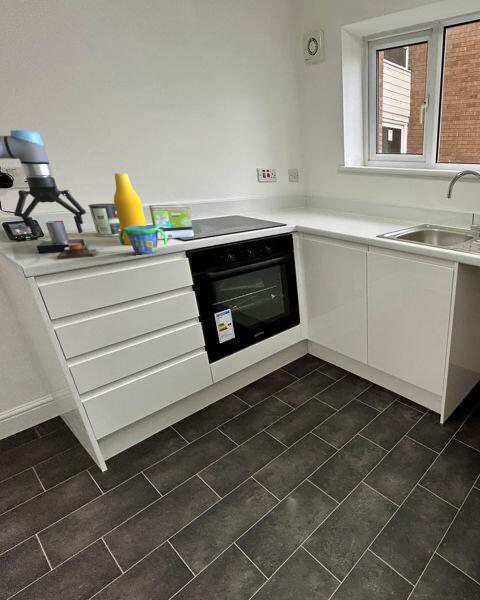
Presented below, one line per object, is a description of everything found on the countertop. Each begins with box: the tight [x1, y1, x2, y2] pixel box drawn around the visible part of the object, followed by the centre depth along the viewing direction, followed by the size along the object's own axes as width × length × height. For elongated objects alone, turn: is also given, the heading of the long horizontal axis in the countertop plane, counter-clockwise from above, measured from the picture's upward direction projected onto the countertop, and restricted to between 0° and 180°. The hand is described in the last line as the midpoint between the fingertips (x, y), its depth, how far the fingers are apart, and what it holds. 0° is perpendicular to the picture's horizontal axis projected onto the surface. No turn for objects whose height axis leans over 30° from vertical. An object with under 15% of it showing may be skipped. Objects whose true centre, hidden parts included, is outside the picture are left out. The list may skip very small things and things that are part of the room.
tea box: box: [148, 204, 194, 241], centre depth 166 cm, size 15×10×15 cm, turn 129°
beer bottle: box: [113, 172, 147, 246], centre depth 149 cm, size 9×9×29 cm
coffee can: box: [88, 203, 121, 237], centre depth 166 cm, size 10×10×14 cm
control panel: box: [36, 238, 86, 255], centre depth 139 cm, size 12×10×3 cm
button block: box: [56, 245, 98, 260], centre depth 132 cm, size 10×8×3 cm
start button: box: [69, 243, 82, 249], centre depth 131 cm, size 4×4×2 cm
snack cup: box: [118, 224, 168, 256], centre depth 137 cm, size 16×10×10 cm
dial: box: [45, 220, 70, 243], centre depth 137 cm, size 5×5×8 cm
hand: (58, 233), depth 137 cm, fingers open, 13 cm apart
